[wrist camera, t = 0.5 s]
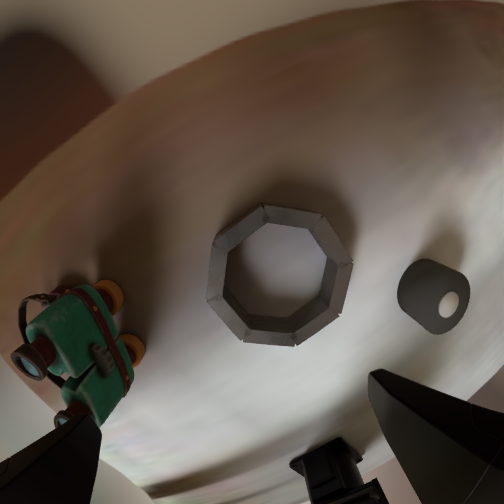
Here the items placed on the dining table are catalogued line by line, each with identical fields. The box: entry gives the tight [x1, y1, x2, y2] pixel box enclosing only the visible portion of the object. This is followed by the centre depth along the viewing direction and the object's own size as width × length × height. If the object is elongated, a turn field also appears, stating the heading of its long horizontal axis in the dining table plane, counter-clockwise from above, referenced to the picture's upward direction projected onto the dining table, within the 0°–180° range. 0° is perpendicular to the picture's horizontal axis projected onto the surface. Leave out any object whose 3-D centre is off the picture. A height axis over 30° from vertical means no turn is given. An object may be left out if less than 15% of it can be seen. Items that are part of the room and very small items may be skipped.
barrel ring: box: [206, 203, 353, 347], centre depth 20 cm, size 9×9×2 cm
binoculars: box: [11, 280, 145, 428], centre depth 16 cm, size 9×11×10 cm
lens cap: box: [397, 259, 470, 335], centre depth 20 cm, size 5×5×4 cm
